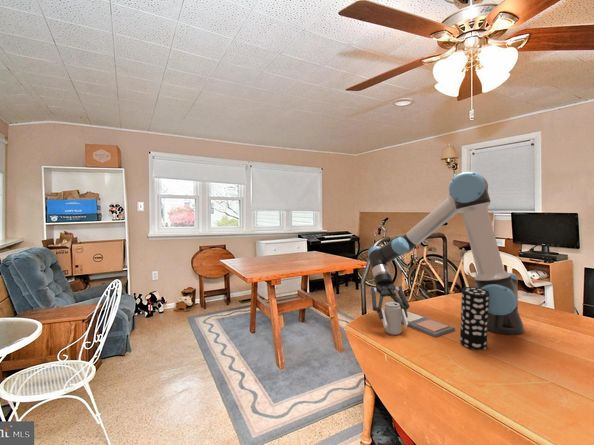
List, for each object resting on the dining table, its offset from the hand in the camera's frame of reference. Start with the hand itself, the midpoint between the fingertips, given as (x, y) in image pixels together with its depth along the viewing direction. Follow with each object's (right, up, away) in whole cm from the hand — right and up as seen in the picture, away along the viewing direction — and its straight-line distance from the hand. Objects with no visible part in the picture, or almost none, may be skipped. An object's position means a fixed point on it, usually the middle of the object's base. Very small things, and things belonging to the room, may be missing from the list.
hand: (396, 325), depth 114 cm
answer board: (+14, -3, +11) cm, 18 cm away
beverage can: (0, -4, +4) cm, 6 cm away
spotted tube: (+25, -3, -9) cm, 27 cm away
